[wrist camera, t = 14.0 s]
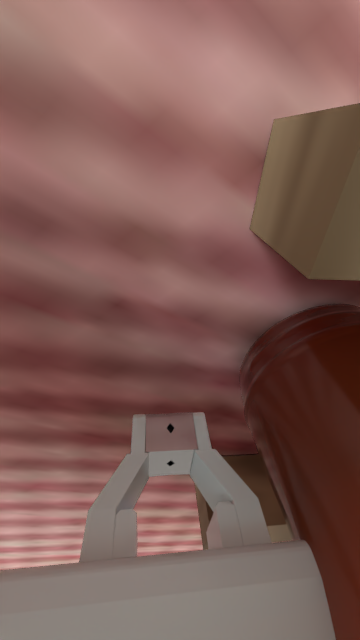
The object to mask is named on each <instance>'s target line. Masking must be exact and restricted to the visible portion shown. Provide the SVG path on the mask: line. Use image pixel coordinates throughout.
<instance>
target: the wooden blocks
mask: <svg viewBox="0 0 360 640" xmlns="http://www.w3.org/2000/svg"><path fill="white" fill-rule="evenodd" d="M250 230H251V231H253V232H254V233H255V234H256V235H257V236H259V237H260V238H261V239H262V240H263V241H264V242H266V243H267V244H268V245H269V246H270V247H271V248H273V249H274V250H275V251H276V252H277V253H278V254H280V255H281V256H282V257H283V258H284V259H285V260H287V261H288V262H289V263H290V264H291V265H292V266H294V267H295V268H296V269H297V270H298V271H300V272H301V273H302V274H303V275H304V276H305V277H307V278H308V279H325V280H359V281H360V103H359V104H353V105H348V106H343V107H337V108H332V109H327V110H322V111H316V112H311V113H306V114H301V115H295V116H290V117H285V118H280V119H274V122H273V126H272V131H271V135H270V140H269V144H268V149H267V153H266V158H265V162H264V167H263V171H262V176H261V180H260V185H259V189H258V194H257V198H256V203H255V207H254V212H253V216H252V221H251V225H250ZM222 457H223V458H224V460H225V461H226V462H227V463H228V464H229V465H230V466H231V468H232V469H233V470H234V471H235V472H236V473H237V474H238V476H239V477H240V478H241V479H242V480H243V481H244V483H245V484H246V485H247V486H248V487H249V488H250V489H251V491H252V492H253V493H254V494H255V495H256V496H257V497H258V499H259V503H260V506H261V509H262V512H263V516H264V519H265V522H266V525H267V529H268V532H269V535H270V539H271V542H272V543H273V542H282V541H292V538H291V535H290V532H289V530H288V527H287V524H286V522H285V519H284V516H283V514H282V511H281V509H280V507H279V504H278V502H277V499H276V497H275V494H274V492H273V489H272V487H271V484H270V482H269V479H268V477H267V474H266V472H265V469H264V466H263V464H262V461H261V458H260V455H259V454H255V455H238V456H222ZM195 490H196V498H197V506H198V513H199V521H200V528H201V536H202V543H203V550H206V549H208V541H207V534H206V532H207V529H208V526H209V524H210V521H211V518H212V516H213V513H214V512H213V511H212V509H211V508H210V506H209V504H208V503H207V501H206V500H205V498H204V497H203V495H202V494H201V492H200V490H199V489H198V487H197V486H196V484H195Z"/></svg>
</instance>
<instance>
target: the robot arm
mask: <svg viewBox="0 0 360 640" xmlns="http://www.w3.org/2000/svg"><path fill="white" fill-rule="evenodd" d="M181 474H190V476H191V478H192V480H193V481H194V483H195V484H196V486H197V487H198V489H199V490H200V492H201V494H202V495H203V497H204V498H205V500H206V501H207V503H208V504H209V506H210V508H211V509H212V511H213V512H214V513H213V516H212V518H211V521H210V524H209V526H208V529H207V532H206V534H207V541H208V549H207V550H197V551H187V552H178V553H168V554H158V555H148V556H138V557H137V540H138V538H137V513H136V512H135V511H134V510H133V508H134V506H135V504H136V502H137V500H138V498H139V496H140V494H141V493H142V491H143V489H144V487H145V485H146V483H147V481H148V479H149V477H152V476H163V475H181ZM0 640H336V638H335V633H334V629H333V624H332V619H331V615H330V610H329V606H328V602H327V598H326V594H325V589H324V585H323V581H322V578H321V575H320V572H319V569H318V566H317V563H316V561H315V558H314V556H313V553H312V550H311V548H310V546H309V545H308V544H307V542H306V541H305V540H296V541H286V542H276V543H272V542H271V539H270V535H269V532H268V529H267V525H266V522H265V519H264V516H263V512H262V509H261V506H260V503H259V499H258V497H257V496H256V495H255V494H254V493H253V492H252V491H251V489H250V488H249V487H248V486H247V485H246V484H245V483H244V481H243V480H242V479H241V478H240V477H239V476H238V474H237V473H236V472H235V471H234V470H233V469H232V468H231V466H230V465H229V464H228V463H227V462H226V461H225V460H224V458H223V457H222V456H221V455H220V454H219V453H218V451H217V450H216V449H212V447H211V442H210V437H209V432H208V427H207V423H206V418H205V414H204V412H195V413H191V412H187V413H169V414H134V415H133V424H132V440H131V453H130V454H127V455H126V456H125V457H124V459H123V460H122V462H121V463H120V465H119V466H118V468H117V469H116V471H115V472H114V474H113V475H112V477H111V478H110V479H109V481H108V482H107V484H106V485H105V487H104V488H103V490H102V491H101V493H100V494H99V496H98V497H97V499H96V500H95V502H94V503H93V504H92V506H91V507H90V509H89V510H88V515H87V520H86V526H85V532H84V538H83V543H82V549H81V555H80V561H79V562H78V563H69V564H59V565H49V566H39V567H29V568H19V569H9V570H0Z"/></svg>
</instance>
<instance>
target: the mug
mask: <svg viewBox="0 0 360 640" xmlns="http://www.w3.org/2000/svg"><path fill="white" fill-rule="evenodd" d="M239 382H240V388H241V393H242V399H243V405H244V415H245V420H246V423H247V425H248V427H249V429H250V430H251V433H252V436H253V438H254V441H255V444H256V447H257V450H258V453H259V455H260V458H261V461H262V464H263V466H264V469H265V472H266V474H267V477H268V479H269V482H270V484H271V487H272V489H273V492H274V494H275V497H276V499H277V502H278V504H279V507H280V509H281V511H282V514H283V516H284V519H285V522H286V524H287V527H288V530H289V532H290V535H291V538H292V541H296V540H305V541H306V542H307V544H308V545H309V546H310V548H311V550H312V553H313V556H314V558H315V561H316V563H317V566H318V569H319V572H320V575H321V578H322V581H323V585H324V589H325V594H326V598H327V602H328V606H329V610H330V615H331V619H332V624H333V629H334V633H335V638H336V640H360V307H358V306H353V305H345V304H331V305H323V306H317V307H313V308H309V309H306V310H303V311H300V312H298V313H296V314H293V315H291V316H289V317H287V318H285V319H283V320H282V321H280V322H278V323H277V324H275V325H274V326H272V327H271V328H270V329H269V330H267V331H266V332H265V333H264V334H263V335H262V336H261V337H259V339H258V340H257V341H256V342H255V343H254V344H253V345H252V347H251V348H250V350H249V351H248V353H247V354H246V356H245V358H244V360H243V363H242V365H241V369H240V376H239Z"/></svg>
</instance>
